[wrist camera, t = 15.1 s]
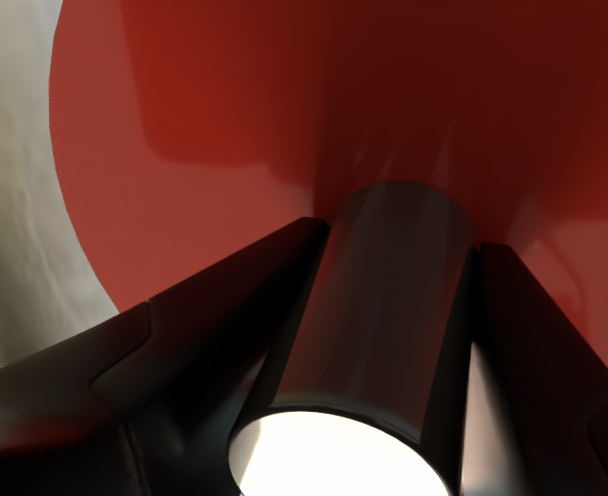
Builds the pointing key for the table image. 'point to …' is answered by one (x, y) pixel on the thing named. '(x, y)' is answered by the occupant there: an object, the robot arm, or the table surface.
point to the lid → (343, 198)
